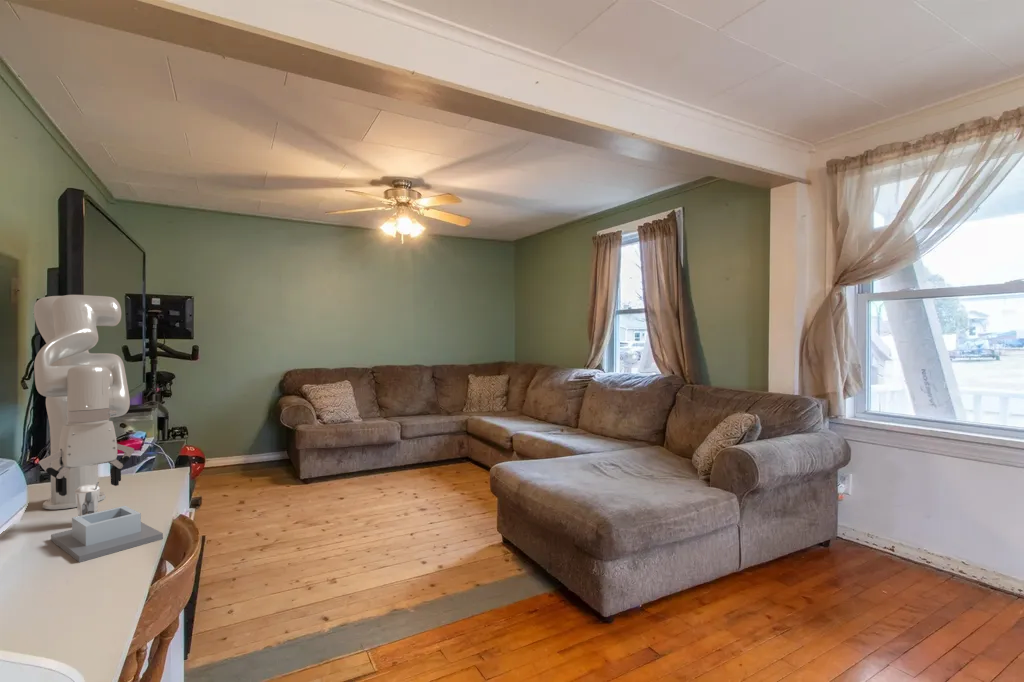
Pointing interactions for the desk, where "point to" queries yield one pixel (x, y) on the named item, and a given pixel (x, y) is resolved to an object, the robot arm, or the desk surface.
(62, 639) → the desk surface
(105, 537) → the housing
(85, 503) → the milkshake
